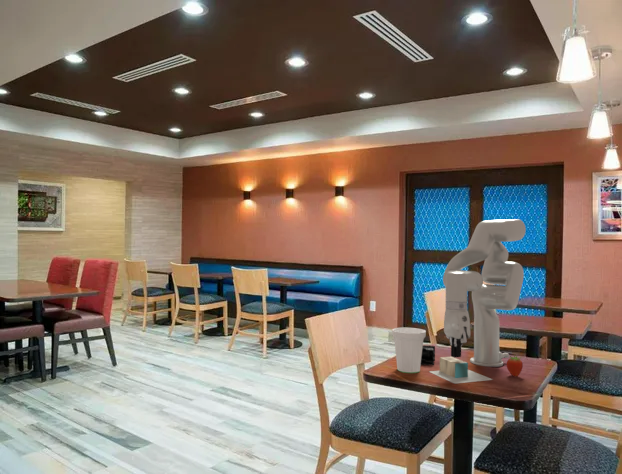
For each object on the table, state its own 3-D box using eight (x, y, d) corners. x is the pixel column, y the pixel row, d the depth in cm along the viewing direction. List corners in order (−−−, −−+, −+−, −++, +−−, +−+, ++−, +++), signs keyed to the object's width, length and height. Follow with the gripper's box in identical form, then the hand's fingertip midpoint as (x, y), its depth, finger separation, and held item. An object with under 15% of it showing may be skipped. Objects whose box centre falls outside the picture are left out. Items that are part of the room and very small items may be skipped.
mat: (464, 369, 184) (464, 368, 184) (493, 380, 169) (493, 379, 169) (428, 372, 179) (428, 371, 179) (454, 384, 163) (454, 383, 163)
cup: (388, 373, 177) (388, 331, 177) (395, 365, 189) (395, 326, 189) (423, 377, 172) (423, 334, 173) (427, 368, 184) (428, 328, 184)
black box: (434, 361, 196) (434, 344, 196) (435, 365, 189) (435, 348, 189) (409, 359, 198) (409, 343, 198) (409, 364, 191) (409, 347, 191)
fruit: (512, 379, 171) (512, 356, 171) (503, 375, 176) (503, 353, 176) (525, 378, 172) (526, 355, 172) (516, 374, 177) (516, 352, 177)
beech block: (467, 376, 172) (451, 369, 181) (467, 362, 172) (451, 356, 181) (455, 378, 170) (439, 370, 180) (456, 363, 170) (439, 357, 180)
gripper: (478, 308, 169) (478, 360, 168) (452, 303, 183) (452, 351, 183) (460, 309, 166) (460, 362, 166) (435, 303, 180) (435, 352, 180)
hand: (456, 356), depth 174 cm, fingers closed
